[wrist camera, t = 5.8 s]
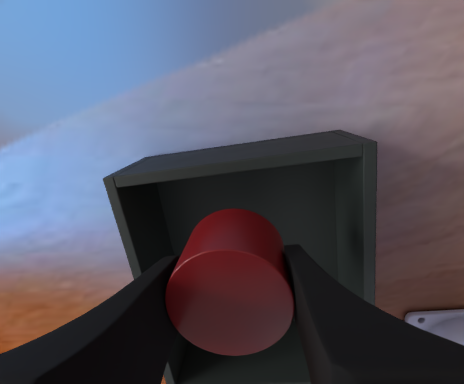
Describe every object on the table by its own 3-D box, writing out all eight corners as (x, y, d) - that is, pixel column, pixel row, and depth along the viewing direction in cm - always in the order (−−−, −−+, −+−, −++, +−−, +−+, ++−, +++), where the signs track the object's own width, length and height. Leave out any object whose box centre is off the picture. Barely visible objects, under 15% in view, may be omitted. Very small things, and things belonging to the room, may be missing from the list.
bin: (340, 129, 17) (377, 141, 12) (345, 319, 22) (373, 388, 16) (144, 157, 19) (101, 178, 13) (188, 327, 23) (168, 393, 18)
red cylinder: (279, 202, 12) (289, 242, 8) (288, 288, 13) (299, 353, 10) (179, 213, 12) (150, 256, 9) (198, 295, 14) (179, 358, 10)
